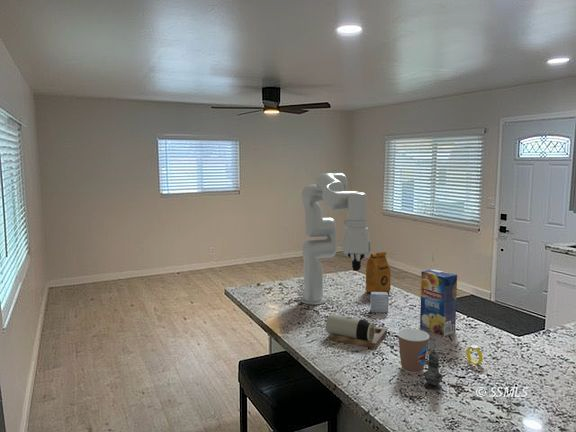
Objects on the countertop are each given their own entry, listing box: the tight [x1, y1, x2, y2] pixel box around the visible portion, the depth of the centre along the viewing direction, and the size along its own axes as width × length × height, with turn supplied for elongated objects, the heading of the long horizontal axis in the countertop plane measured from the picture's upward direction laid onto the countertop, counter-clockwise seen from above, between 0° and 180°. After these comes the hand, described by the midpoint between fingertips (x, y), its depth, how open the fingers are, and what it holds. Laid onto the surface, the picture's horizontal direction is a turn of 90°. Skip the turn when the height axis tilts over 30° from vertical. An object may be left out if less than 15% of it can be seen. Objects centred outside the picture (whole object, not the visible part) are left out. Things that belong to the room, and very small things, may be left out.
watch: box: [465, 344, 484, 366], centre depth 147 cm, size 6×3×6 cm, turn 23°
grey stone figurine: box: [422, 348, 444, 392], centre depth 131 cm, size 6×6×12 cm
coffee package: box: [365, 251, 392, 294], centre depth 230 cm, size 10×12×22 cm
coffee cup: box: [396, 328, 430, 374], centre depth 142 cm, size 10×10×12 cm
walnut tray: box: [329, 326, 388, 350], centre depth 170 cm, size 18×16×2 cm
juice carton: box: [419, 268, 458, 337], centre depth 176 cm, size 12×8×24 cm, turn 31°
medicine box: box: [370, 292, 389, 313], centre depth 200 cm, size 8×4×9 cm, turn 84°
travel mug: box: [325, 313, 376, 341], centre depth 168 cm, size 8×8×18 cm
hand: (356, 270), depth 168 cm, fingers closed
